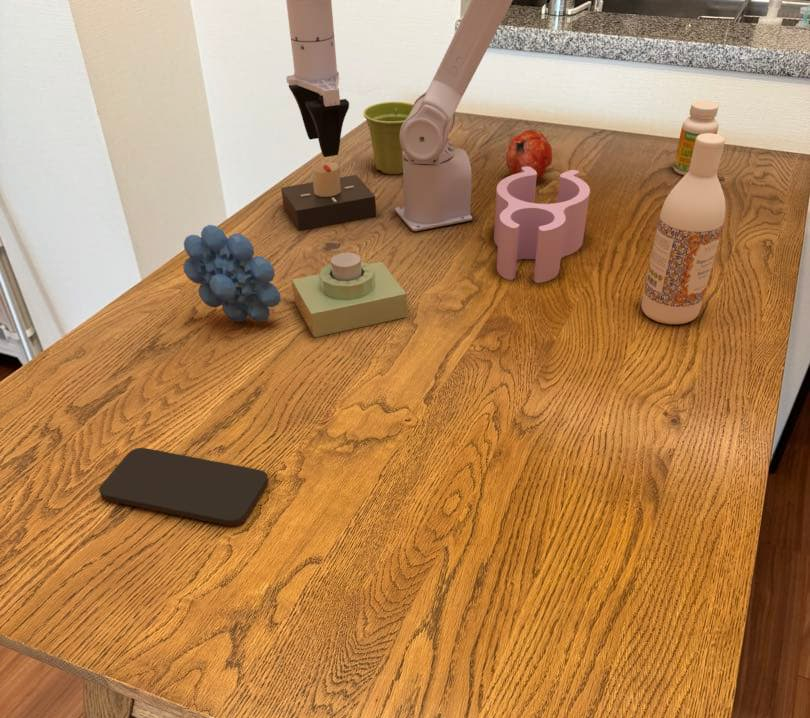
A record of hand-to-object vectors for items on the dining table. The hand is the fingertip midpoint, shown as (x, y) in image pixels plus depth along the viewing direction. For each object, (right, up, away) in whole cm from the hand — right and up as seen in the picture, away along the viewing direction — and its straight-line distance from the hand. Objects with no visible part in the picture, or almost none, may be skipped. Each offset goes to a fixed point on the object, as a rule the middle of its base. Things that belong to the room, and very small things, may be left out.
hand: (323, 146), depth 112 cm
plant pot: (+10, +5, +18) cm, 21 cm away
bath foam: (+44, -28, -16) cm, 55 cm away
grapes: (-9, -30, -15) cm, 35 cm away
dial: (0, -4, +5) cm, 6 cm away
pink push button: (+5, -24, -17) cm, 30 cm away
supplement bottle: (+58, +3, +14) cm, 59 cm away
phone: (-9, -52, -36) cm, 64 cm away
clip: (+30, -16, -3) cm, 34 cm away
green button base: (+5, -27, -14) cm, 31 cm away
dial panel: (0, -6, +7) cm, 9 cm away
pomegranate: (+31, +2, +14) cm, 34 cm away
